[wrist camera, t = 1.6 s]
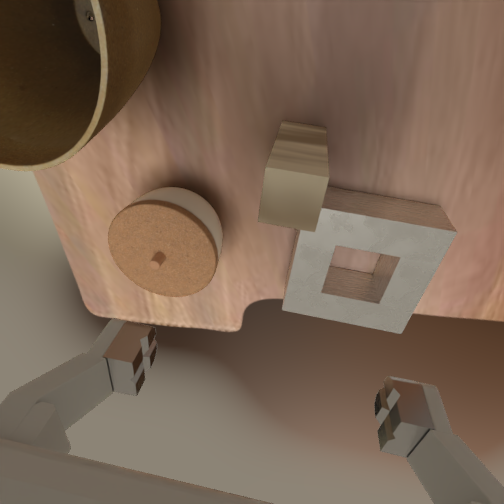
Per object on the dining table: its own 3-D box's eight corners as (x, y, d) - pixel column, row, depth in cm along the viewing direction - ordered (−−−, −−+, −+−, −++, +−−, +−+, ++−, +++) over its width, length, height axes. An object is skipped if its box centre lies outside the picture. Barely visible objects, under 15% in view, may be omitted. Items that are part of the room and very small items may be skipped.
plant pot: (4, -108, 25) (-336, -247, 12) (199, -109, 23) (47, -272, 10) (62, 106, 34) (-101, 161, 21) (208, 117, 32) (131, 184, 19)
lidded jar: (232, 260, 41) (213, 315, 33) (148, 249, 42) (110, 300, 34) (233, 176, 35) (209, 220, 27) (134, 166, 36) (85, 206, 28)
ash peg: (282, 120, 31) (265, 166, 21) (326, 127, 31) (329, 177, 21) (275, 162, 33) (257, 221, 23) (316, 169, 33) (315, 232, 23)
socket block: (307, 182, 34) (306, 205, 30) (440, 205, 33) (457, 232, 29) (285, 281, 41) (281, 310, 37) (392, 302, 40) (401, 333, 36)
